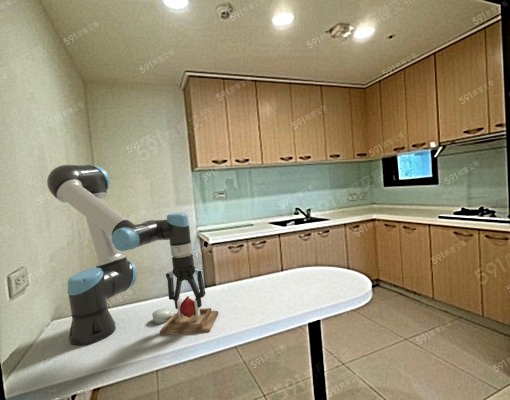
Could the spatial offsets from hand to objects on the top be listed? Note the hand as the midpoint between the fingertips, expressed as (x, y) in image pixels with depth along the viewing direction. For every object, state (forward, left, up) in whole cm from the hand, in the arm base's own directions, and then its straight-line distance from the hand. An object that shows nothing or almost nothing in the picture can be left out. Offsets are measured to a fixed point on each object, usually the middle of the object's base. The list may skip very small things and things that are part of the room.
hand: (189, 316), depth 113 cm
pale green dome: (-13, +5, -3) cm, 14 cm away
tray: (0, 0, -3) cm, 3 cm away
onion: (0, 0, -1) cm, 1 cm away
